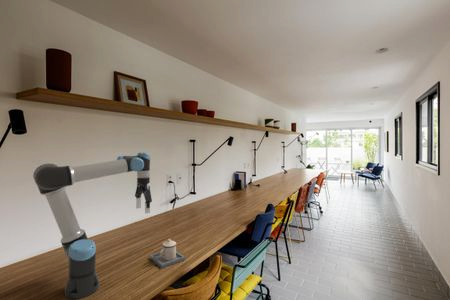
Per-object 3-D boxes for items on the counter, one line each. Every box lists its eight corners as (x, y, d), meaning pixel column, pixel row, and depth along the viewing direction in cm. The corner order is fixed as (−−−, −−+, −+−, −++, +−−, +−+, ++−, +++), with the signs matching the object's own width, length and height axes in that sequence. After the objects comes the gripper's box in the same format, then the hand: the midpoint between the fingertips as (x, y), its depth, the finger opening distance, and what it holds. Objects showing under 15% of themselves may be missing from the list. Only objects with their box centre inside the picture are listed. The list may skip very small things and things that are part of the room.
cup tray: (161, 268, 147) (161, 264, 147) (149, 258, 159) (149, 255, 159) (185, 259, 158) (185, 256, 158) (172, 251, 170) (172, 248, 170)
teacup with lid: (169, 253, 166) (169, 235, 165) (179, 256, 161) (179, 239, 160) (155, 260, 156) (155, 241, 155) (165, 264, 151) (165, 245, 150)
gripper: (158, 179, 149) (157, 214, 150) (141, 174, 168) (140, 205, 168) (146, 180, 144) (145, 216, 145) (130, 175, 163) (129, 207, 164)
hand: (142, 210), depth 157 cm, fingers open, 13 cm apart
